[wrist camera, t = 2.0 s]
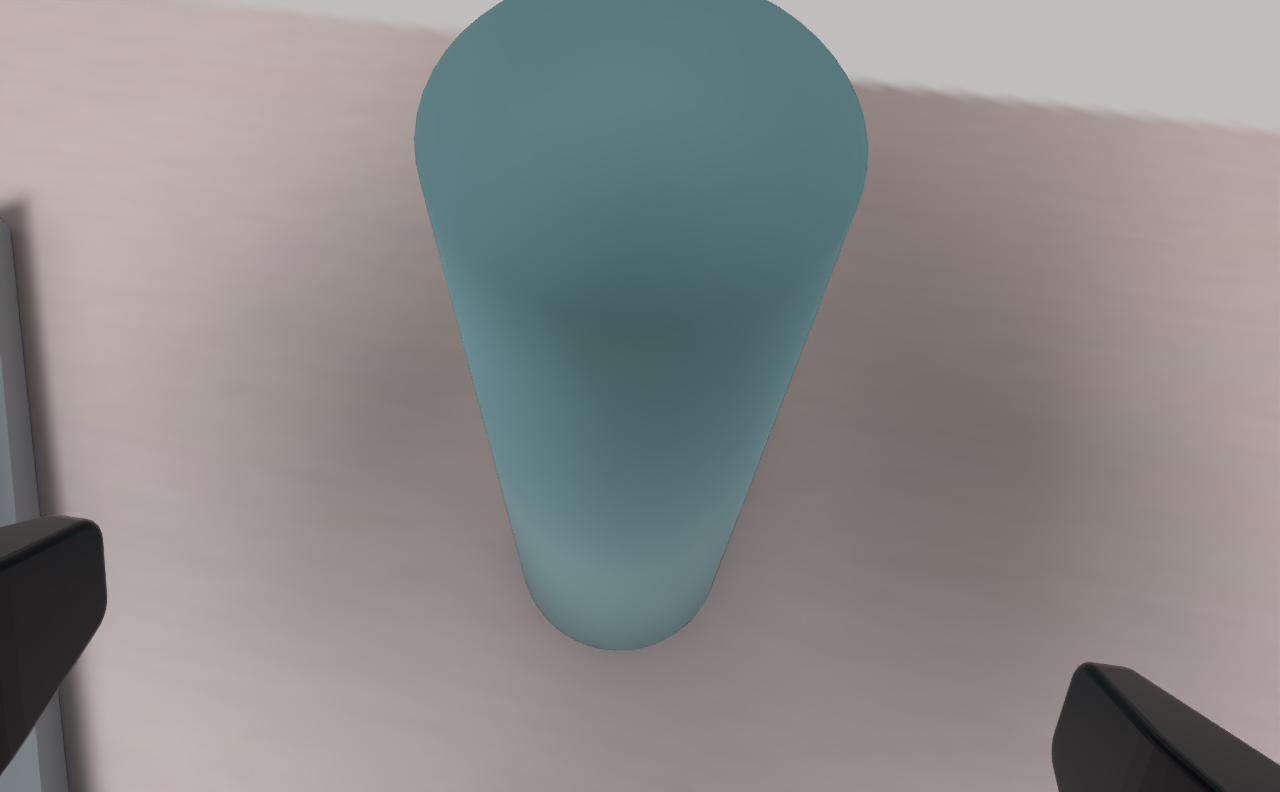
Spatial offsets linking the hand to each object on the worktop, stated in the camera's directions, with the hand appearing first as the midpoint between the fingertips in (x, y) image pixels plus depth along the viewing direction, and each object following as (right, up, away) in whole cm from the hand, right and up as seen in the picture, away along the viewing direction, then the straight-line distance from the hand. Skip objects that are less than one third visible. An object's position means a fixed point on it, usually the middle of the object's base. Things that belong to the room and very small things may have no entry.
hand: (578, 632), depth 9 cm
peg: (0, -1, +11) cm, 11 cm away
